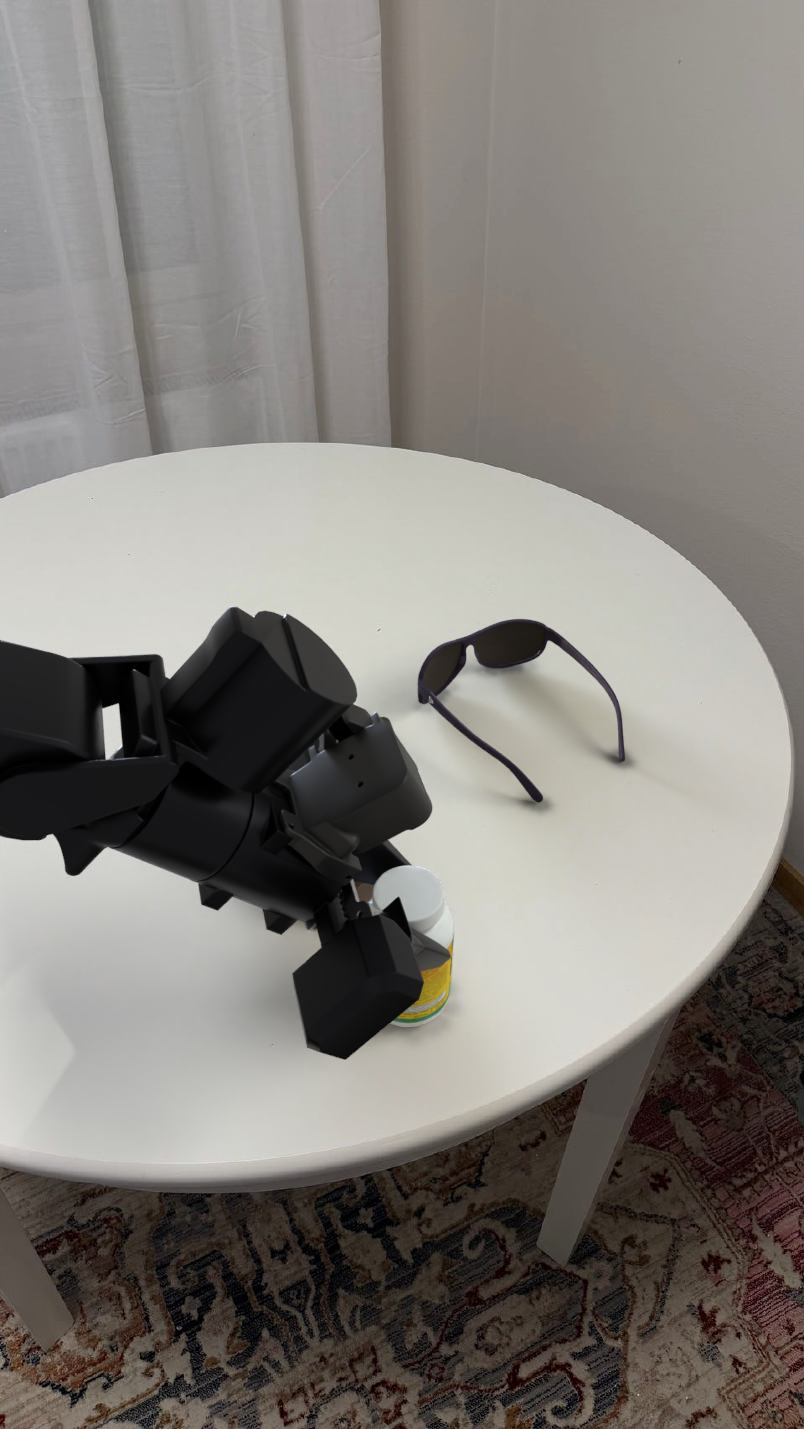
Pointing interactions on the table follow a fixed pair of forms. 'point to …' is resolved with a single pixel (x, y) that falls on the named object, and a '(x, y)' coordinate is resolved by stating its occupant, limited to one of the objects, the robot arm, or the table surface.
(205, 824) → the robot arm
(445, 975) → the supplement bottle
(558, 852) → the table surface
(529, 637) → the sunglasses
